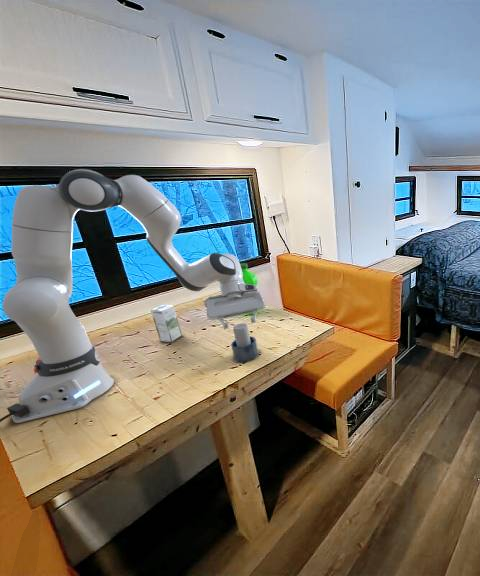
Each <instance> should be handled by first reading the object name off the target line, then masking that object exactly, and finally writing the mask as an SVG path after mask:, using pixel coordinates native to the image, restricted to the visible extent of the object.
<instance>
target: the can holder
mask: <svg viewBox="0 0 480 576" xmlns="http://www.w3.org/2000/svg"><path fill="white" fill-rule="evenodd" d="M249 336H250V341H251V344H250V345H248V346H245V347H237V344H236V339H235V340H233V341H232V342H231V344H230V348H231V350H232V355H233V358H234V361H235V362H237V363H247V362H250V361H252V360H254V359H256V358H258V355H259V348H258V344H257V339H256V337H255V336H252V335H249Z"/></svg>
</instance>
